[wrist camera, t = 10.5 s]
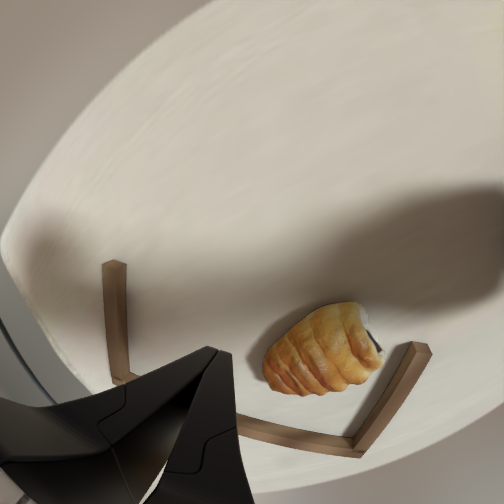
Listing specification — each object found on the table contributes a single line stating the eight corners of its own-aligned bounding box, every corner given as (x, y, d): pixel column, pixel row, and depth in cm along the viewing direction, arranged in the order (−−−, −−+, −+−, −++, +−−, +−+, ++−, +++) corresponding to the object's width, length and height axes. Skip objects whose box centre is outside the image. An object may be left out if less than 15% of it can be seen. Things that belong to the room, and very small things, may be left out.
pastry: (291, 395, 23) (285, 425, 20) (246, 341, 23) (232, 369, 19) (389, 349, 20) (398, 379, 16) (350, 283, 19) (356, 307, 16)
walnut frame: (427, 344, 19) (432, 354, 17) (360, 447, 23) (360, 458, 22) (113, 259, 23) (102, 264, 22) (119, 375, 28) (112, 383, 26)
